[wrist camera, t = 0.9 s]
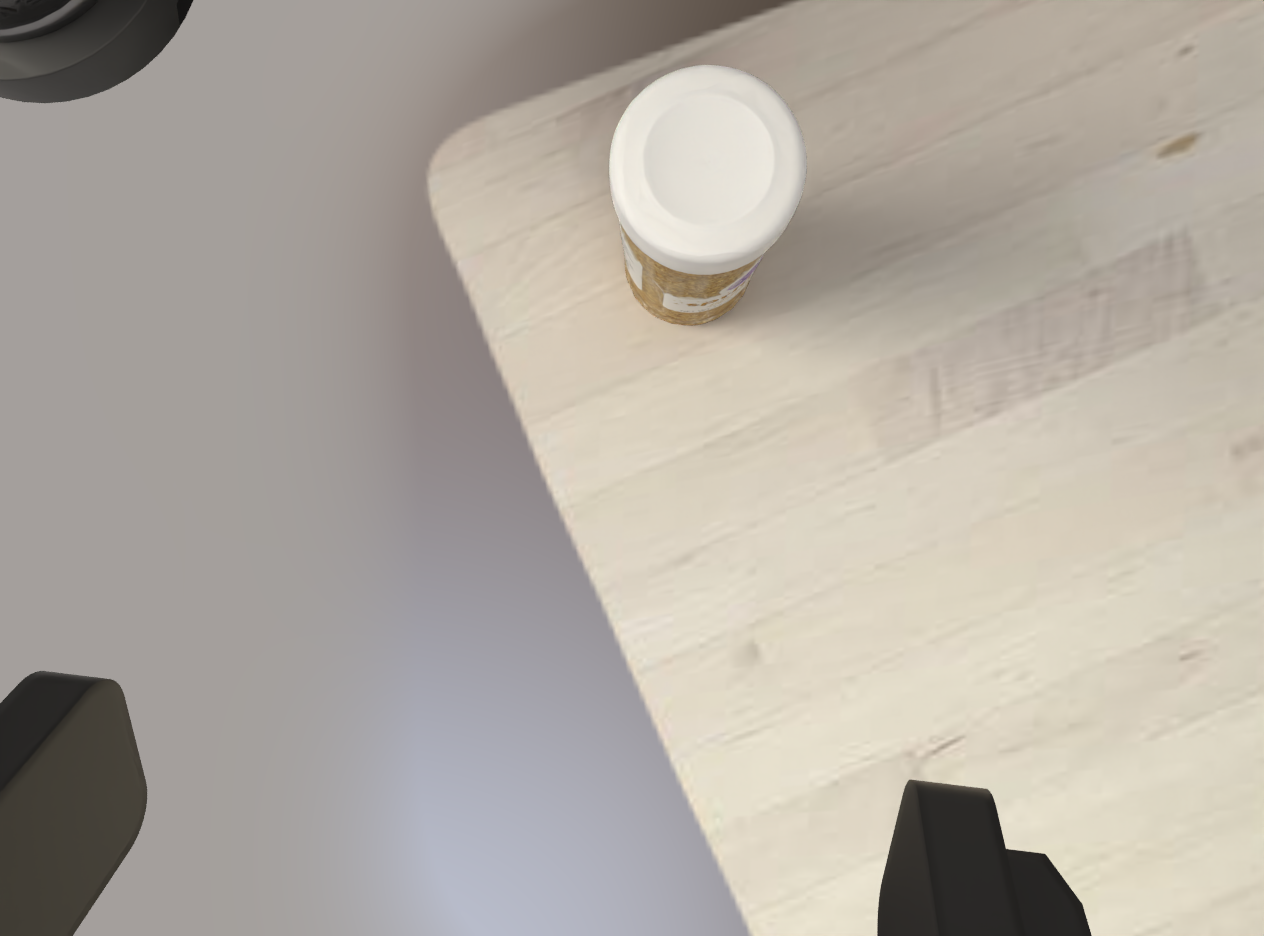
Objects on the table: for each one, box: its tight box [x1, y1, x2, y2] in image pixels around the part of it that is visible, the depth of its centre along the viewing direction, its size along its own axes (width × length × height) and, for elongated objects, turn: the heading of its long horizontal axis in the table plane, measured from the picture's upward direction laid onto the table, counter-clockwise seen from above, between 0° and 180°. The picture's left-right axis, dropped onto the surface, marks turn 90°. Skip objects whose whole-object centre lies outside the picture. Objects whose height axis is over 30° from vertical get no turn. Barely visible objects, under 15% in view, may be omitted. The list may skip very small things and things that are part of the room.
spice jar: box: [609, 65, 807, 325], centre depth 30 cm, size 5×5×13 cm
